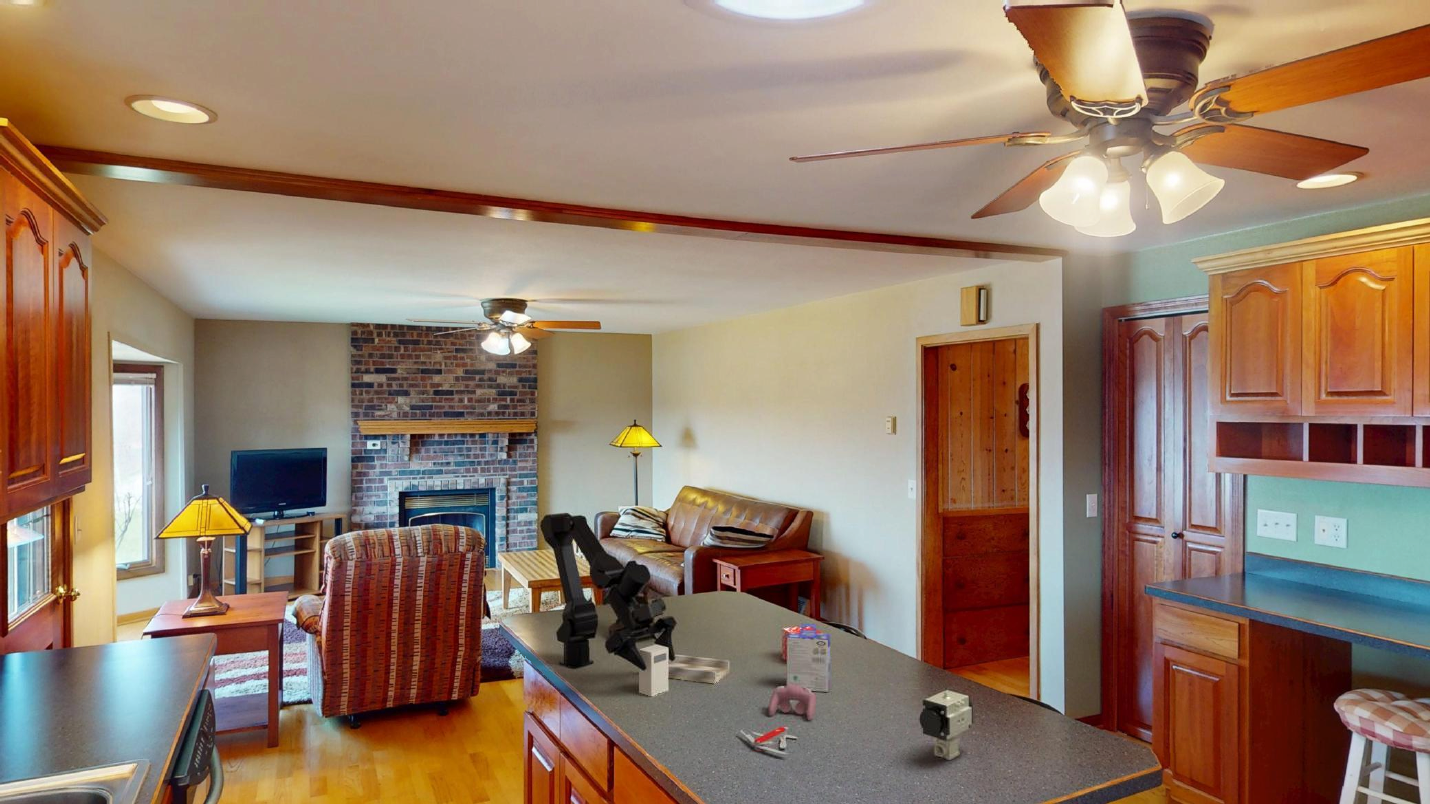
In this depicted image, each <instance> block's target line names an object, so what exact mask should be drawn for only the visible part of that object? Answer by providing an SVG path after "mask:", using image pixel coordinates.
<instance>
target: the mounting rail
mask: <svg viewBox="0 0 1430 804" xmlns="http://www.w3.org/2000/svg"><path fill="white" fill-rule="evenodd" d="M674 655H675V660H674V661H671V660H670V659H669V658H668V678H674V679H673V680H676V679H681V680H680V681H684V680H691V681H690V682H692V681H697V682H696V683H699V682H708V683H714V684H713V685H716V684H717V683H719V682H720V681H721V680H722V679H723V678H724V677H726V674H727V675H728V674H729V673H730V660H727V659H718V658H717V659H716V658H711V657H710V658H709V657H708V658H707V657H700V656H699V657H698V656H690V655H683V654H675V653H674ZM723 676H724V677H723ZM721 678H722V679H721ZM720 679H721V680H720ZM719 680H720V681H719ZM716 682H717V683H716ZM715 683H716V684H715Z"/></svg>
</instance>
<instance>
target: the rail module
mask: <svg viewBox="0 0 1430 804" xmlns="http://www.w3.org/2000/svg"><path fill="white" fill-rule="evenodd" d="M638 651H639V653H640V655H641V657H642V658H643V660H644V662H645V665H646V667H647V669H646V670H645V671H643V670H641V669H640V668H638V692H639V693H638V694H640V693H643V694H645V695H644V696H646V695H648V696H647V697H649V696H653V697H656V696H658V695H657V694H658V693H662V692H665V691H667V692H669V679H668V647H664V646H660V645H657V644H653V645H650V646H646V647H642V648H640V649H638ZM665 693H666V692H665ZM643 694H642V695H643ZM662 694H663V693H662ZM655 695H656V696H655Z"/></svg>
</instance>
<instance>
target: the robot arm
mask: <svg viewBox="0 0 1430 804" xmlns="http://www.w3.org/2000/svg"><path fill="white" fill-rule="evenodd" d="M539 525H540V526H539V528H540V530H541V531H540V532H542V536H543V539H544V541H545V542H546V543H547V544H548V545H549V546H550V548H551V549H552V550H553V554H554V557H555V558H554V559H555V563H556V566H557V570H558V576H559V580H560V584H561V589H562V593H563V597H564V602H565V605H564V608H563V611H562V614H561V617H562V623H561V625H560V626H559V627H558V629H557V630H556V632H555V634H556V639H557V641H558V642H559V643H560V642H561V643H563V660H560V661H558V664H559V665H562V666H565V667H567V668H571V669H579V668H581V667H584V666H588V665H592V664H594V660H592V659H590V657H591V656H590V655H591V654H590V651H591V650H590V649H591V648H590V639H595V638H596V635H597V631H598V630H597V629H598V627H599V619H598V618H599V615H598V614H597V610H596V604H595V603H594V602H593V601H590V602H589V601H588V600H587V598H586V596H585V594H584V590H583V589H584V588H583V584H582V580H581V577H580V572H579V569H578V564H577V560H576V555H575V551H574V548H573V541H574V543H575V544H576V546H577V547H578V549H579V550H580V552H581V553H582V555H583V557H584V558H585V560H586V561H587V563H588V565H589V572H588V573H589V576H590V578H591V580H592V582H593V585H594V586H595V588H596V589H598V590H604V589H610V590H609V591H608V592H605V593H604V594H603V600H602V605H603V606H608V605H609V606H610V607H611V609H612V611H613V613H615V615H616V617H617V618H616V620H615V622H614V623H617V625H619V624H622V626H623V628H621V629H617V630H614V631H613V633H612V634H611V635H609V636H608V637H607V638H606V640H605V644H604V647H605V649H606V651H607V653H608V654H609V655H610V654H613V655H614V656H619V657H620V658H622V659H624V660H625V661H627V662H629V663H631V664H632V665H634V666H635V667H637V668H638V669H639V668H640V669H641V670H643V671H645V670H646V669H647V667H646V665H645V662H644V660H643V658H642V657H641V655H640V653H639V649H638V647H637V644H636V642H635V639H638V640H639V639H641V638H646V637H645V636H649V635H651V636H649V637H651V638H652V639H653V640H655V641H654V645H656V644H657V645H660V646H664V647H668V658H669V659H670V660H671V661H674V660H675V655H676V654H675V651H674V646H673V640H672V639H673V638H672V633H673V631H675V627H676V626H677V624H678V623H677V621H676V619H675V618H674V616H672V615H666V616H663V615H664V611H666V610H667V606H666V603H665V601H664V600H663V599H662V597H658V598H655V599H652V600H651V602H649V604H646V605H644V604H642V603H641V604H638V603H637V601H636V599H635V598H636V597H639V595H640V592H641V591H642V590H643V588H644V587H645V586H646V584H647V583H648V584H649V582H650V580H651V573H649V572H650V570H649V571H648V570H647V569H646V568H645V567H643V566H642V565H641V564H639V563H638V562H637V561H636V560H628V561H627V562H626V564H625V566H624V565H623V564H622V563H621V562H620V561H619V560H618V559H617V557H614V556H613V555H610V554H609V553H607V551H606V550H605V549H604V547H603V546H602V544H601V543H600V540H598V538H597V536H596V534H595V533H594V531H593V530H592V529H591V527H590V526H589V523H588V519H587V518H586V516H585V515H582V514H577V515H571V514H570V513H568V512H562V513H552V514H551V513H550V514H545V515H544V516H543V518H542V519H541V521H540V524H539ZM659 616H663V617H660V618H659ZM656 617H658V619H657V620H656V619H655V618H656ZM655 620H656V621H655ZM653 622H655V624H654V625H653V626H651V625H650V624H651V623H653ZM674 654H675V655H674Z"/></svg>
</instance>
